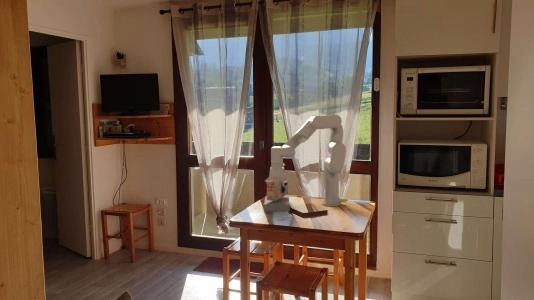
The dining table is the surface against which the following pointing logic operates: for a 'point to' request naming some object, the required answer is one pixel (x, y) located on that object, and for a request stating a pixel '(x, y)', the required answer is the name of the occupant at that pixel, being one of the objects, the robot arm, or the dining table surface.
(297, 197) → the dining table surface
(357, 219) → the dining table surface
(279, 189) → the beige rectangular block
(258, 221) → the dining table surface
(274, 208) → the grey box
